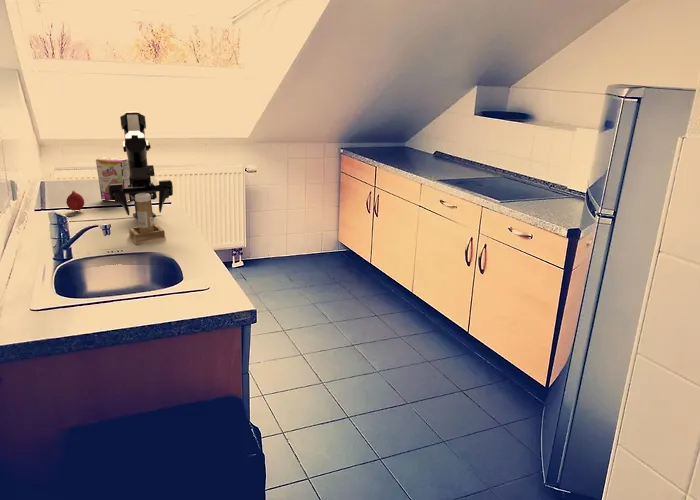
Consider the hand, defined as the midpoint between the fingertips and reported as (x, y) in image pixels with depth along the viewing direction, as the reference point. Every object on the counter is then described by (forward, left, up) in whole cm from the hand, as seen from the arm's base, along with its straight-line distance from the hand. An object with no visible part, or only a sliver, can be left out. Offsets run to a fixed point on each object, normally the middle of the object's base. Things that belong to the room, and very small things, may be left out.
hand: (144, 213), depth 176 cm
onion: (-44, -13, -9) cm, 47 cm away
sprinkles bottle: (-2, 0, -8) cm, 8 cm away
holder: (-1, 0, -9) cm, 9 cm away
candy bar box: (-52, +3, -9) cm, 53 cm away
